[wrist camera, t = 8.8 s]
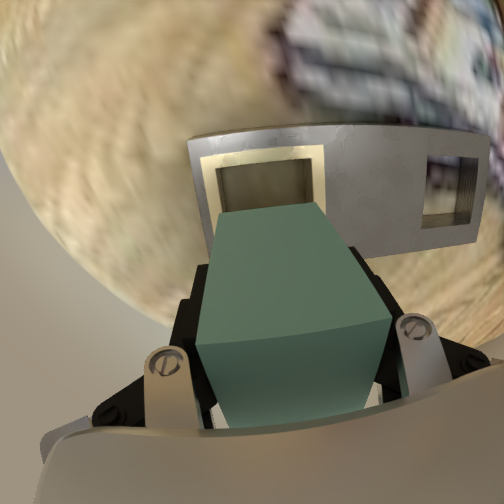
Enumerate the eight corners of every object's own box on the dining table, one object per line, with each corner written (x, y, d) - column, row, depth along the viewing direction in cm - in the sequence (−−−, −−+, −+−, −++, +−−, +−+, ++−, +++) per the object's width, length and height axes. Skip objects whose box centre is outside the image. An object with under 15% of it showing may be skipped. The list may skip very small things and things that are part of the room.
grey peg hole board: (472, 131, 18) (492, 137, 15) (461, 230, 22) (477, 243, 20) (193, 136, 18) (185, 141, 16) (216, 259, 23) (213, 279, 21)
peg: (315, 202, 13) (392, 317, 6) (316, 282, 15) (362, 411, 8) (218, 213, 13) (195, 344, 6) (233, 292, 15) (230, 430, 8)
